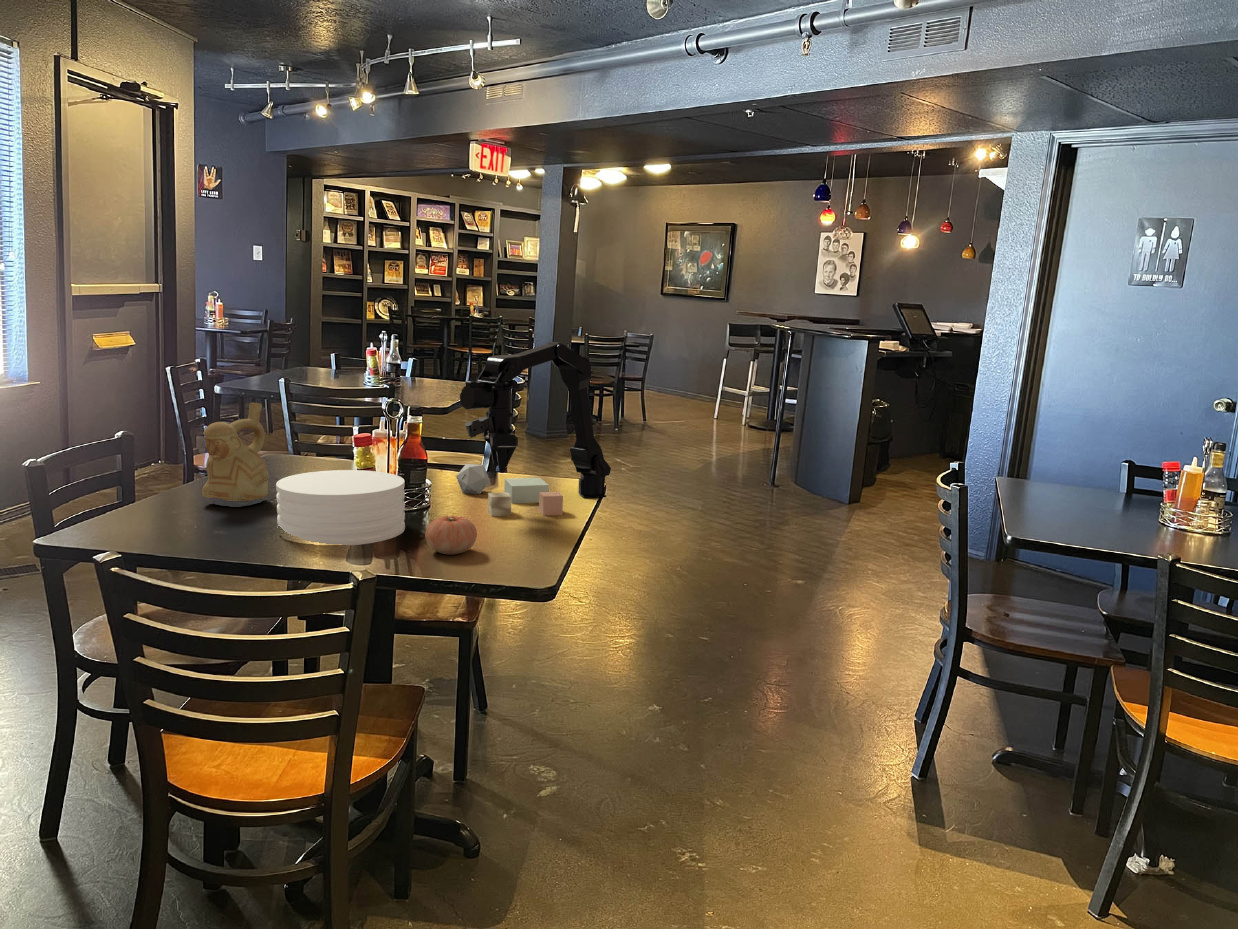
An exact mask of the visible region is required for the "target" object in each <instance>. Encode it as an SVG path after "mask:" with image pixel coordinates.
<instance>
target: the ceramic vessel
mask: <svg viewBox="0 0 1238 929" xmlns="http://www.w3.org/2000/svg"><path fill="white" fill-rule="evenodd" d="M262 408H263V404H261V403H259V402H258V403H257V402H249V408H248V416H247V418H242V419H237V420H234V421H232V422H231V423H228V422H225V421H216V422H213V423H210V424H209V425H208V426H206V427H205V428H204V431H203V433H202V434H203V435H204V440H205V446H204V447H205V450H206V451H207V453H208V456H209V457H208V459H207V460H206V464H205V466H206V467H205V469H206V474H207V476H208V479H207V481H206V483H205V484H204V485H203V487H202V488H201V496H202V497H203V496H204V497H207V498H219V499H223V500H227V501H251V500H254V499H259V498H263V497H265V496H267V497H268V495H269V494H268V493H269V472H268V468H267V464H266V462H265V461H264V459H263V458H262V457H261V456H260V454H259V453H260V451H261V450H262V448H263V447H264V443H265V440H266V439H265V438H266V434H265V429H264V427H263V425H262V423H261V422H260V418H261V412H262ZM244 429H250V430H252V431H253V434H254V437H253V441H252V442H251V444H250V445H247V444H245V442H244V441H242V439H241V438H240V437H239V434H238V432H240V431H241V430H244Z"/></svg>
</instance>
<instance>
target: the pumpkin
mask: <svg viewBox="0 0 1238 929" xmlns="http://www.w3.org/2000/svg"><path fill="white" fill-rule="evenodd" d="M477 531H478V530H477V528H476V526H475V524H474V523H473V522H472V521H470V520H469V519H468V518H465V517H462V516H458V515H456V516H454V515H451V516H448V515H446V516H441V517H438V518H435V519H433V520H432V521H431V522H430V523H429V524H428V525H427V527H426V530H425V533H424V535H425V541H426V543H427V544H428V546H429V547H430V548H431V549H432V550H433V551H435V552H436V553H440V554H443V555H449V556H450V555H453V556H454V555H459V554H462V553H465V552H466V551H468V550H470V549H471V548H472V547H473V546H474V545H475V543H476V541H477V538H478V532H477Z"/></svg>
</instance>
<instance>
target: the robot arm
mask: <svg viewBox="0 0 1238 929" xmlns="http://www.w3.org/2000/svg"><path fill="white" fill-rule="evenodd" d="M548 362H551V363H552V365H553V366H555V367H556V368H557V369H558V371H559V373H560V377H561V380H562V381H563V383H564V384H565V386H566V388H567V390H568V392H569V398H570V399H569V400H570V405H571V406H570V407H571V413H572V418H573V424H574V432H575V442H574V444H573V446H570V447H569V451H570V456H571V458H570V462H573V463H572V464H573V465H574V467H575V471H576V473H579V474H580V478H578V494H579V495H580V496H581V497H582V498H584V499H587V498H589V499H591V498H592V499H593V498H595V499H596V498H597V499H598V498H607V494H605V492H606V491H605V490H606V489H605V487H606V477H607V476H610V475H611V470H612V467H611V466H610V465H609V463H608V461H606V460H605V457H604V453H603V450H602V447H601V445H600V444H599V442H598V441H597V440H596V438H595V434H594V433H595V432H594V425H593V421H592V419H593V418H592V412H591V406H590V404H591V403H590V398H589V391H588V386H589V384H590V381H591V379H592V364H591V360H590V359H589V358H588V357H585V356H582V355H581V354H580V353H578V352H575V351H574V350H572V349H570V348H569V347H568V346H567V345H565V344H564V343H562V342H555V341H549V342H547V343H545V344H543V345H540V346H537V347H533V348H531V349H528V350H524V351H521V352H519V353H516V354H501V355H499V354H497V355H492V356H491V355H490V356H489V357H488V358H487V359H486V362H485V365H484V366H483V368H482V371H480V373H479V375H478V377H477V379H476V380H475V381H474V380H473V381H472V380H466V381H465V386H463V388H462V389H461V391H460V394H459V400H460V404H461V406H462V408H463V409H465V410H467V411H468V410H481V409H487V410H486V411H485V416H482V417H479V418H476V419H473V420H471V421H467V422H466V423H464V427H465V429H466V431H467V435H468V436H469V438H476V437H477V436H479V435H482V436H483V439H484V441H485V442H487V443H488V444H489V448H490V452H491V459H492V463H493V466H494V467H498V471H499V473H501V474H504V473H505V472H506V469H507V468H508V465H509V463H510V460H511V458H512V456H513V455H514V452H515V450H516V449H517V447H518V445H519V438H518V437H517V436H516V435H515V434H514V432H513V431H514V428H512V417H514V413H513V412H512V406H513V405H512V404H513V403H512V402H513V401H512V400H513V395H512V394H513V390H518V389H520V385H518V384H517V383H516V382H515V381H514V379H516V378H518V377H519V376H520V375H521V374H522V373H523V372H524V371H526V370H528V369H530V368H533V367H536V366H538V365H539V366H540V365H542V364H545V363H548Z"/></svg>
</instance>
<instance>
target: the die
mask: <svg viewBox="0 0 1238 929" xmlns="http://www.w3.org/2000/svg"><path fill="white" fill-rule="evenodd" d="M455 477H456V479H457V483H458V485H459V487H460V489H461V492H462V494H463V493H464V494H475V495H481V493H482V492H483V491H484V490H485V488H486V487H487V486H488V485H489V483H490V482H491V481H490V479H489V476H488V473H487V471H486V467H485V465H484V464H475V463H474V464H473V463H465V465H464V466H463V467H462V468H461V469H460V471H459V472H458V473H457V474H456V476H455Z"/></svg>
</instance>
